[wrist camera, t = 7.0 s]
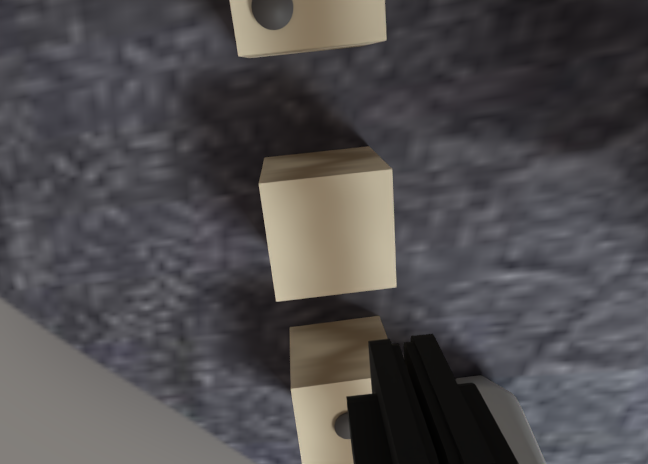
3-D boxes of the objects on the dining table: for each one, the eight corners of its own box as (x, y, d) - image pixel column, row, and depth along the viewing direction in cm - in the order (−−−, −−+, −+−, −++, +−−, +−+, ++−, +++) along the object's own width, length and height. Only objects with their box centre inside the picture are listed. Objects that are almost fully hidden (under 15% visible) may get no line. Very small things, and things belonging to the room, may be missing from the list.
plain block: (368, 145, 25) (392, 169, 20) (373, 241, 28) (396, 287, 22) (264, 157, 25) (258, 183, 20) (277, 253, 27) (276, 301, 22)
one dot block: (378, 315, 29) (401, 376, 24) (383, 386, 32) (405, 459, 26) (289, 326, 29) (290, 391, 23) (299, 398, 31) (303, 473, 26)
